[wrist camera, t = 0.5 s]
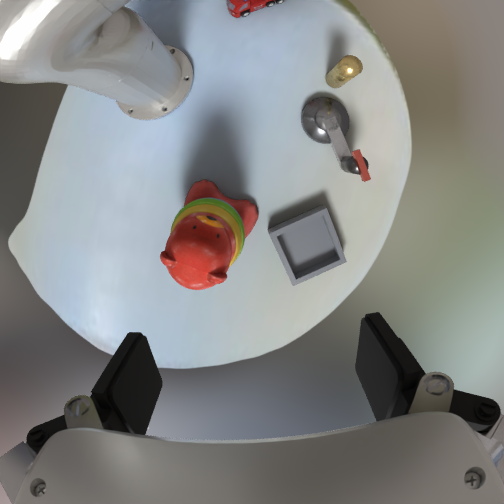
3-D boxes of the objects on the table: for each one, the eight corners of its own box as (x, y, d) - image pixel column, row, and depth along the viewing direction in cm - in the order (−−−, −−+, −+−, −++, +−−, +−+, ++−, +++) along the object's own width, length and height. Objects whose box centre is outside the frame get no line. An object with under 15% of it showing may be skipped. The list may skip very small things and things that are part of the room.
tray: (267, 229, 42) (268, 233, 39) (322, 204, 40) (326, 207, 38) (290, 278, 44) (293, 286, 42) (341, 256, 43) (346, 261, 41)
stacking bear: (263, 207, 41) (273, 244, 24) (232, 264, 43) (222, 331, 27) (197, 174, 39) (160, 187, 22) (170, 234, 42) (123, 283, 25)
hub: (293, 107, 36) (294, 106, 35) (334, 93, 35) (337, 91, 34) (313, 150, 38) (315, 150, 37) (353, 134, 37) (356, 134, 36)
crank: (310, 112, 35) (321, 104, 29) (332, 104, 34) (346, 96, 28) (340, 181, 38) (355, 185, 32) (361, 172, 37) (379, 175, 32)
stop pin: (322, 74, 34) (338, 57, 26) (338, 69, 33) (356, 53, 26) (330, 90, 35) (348, 76, 27) (346, 85, 34) (366, 71, 27)
